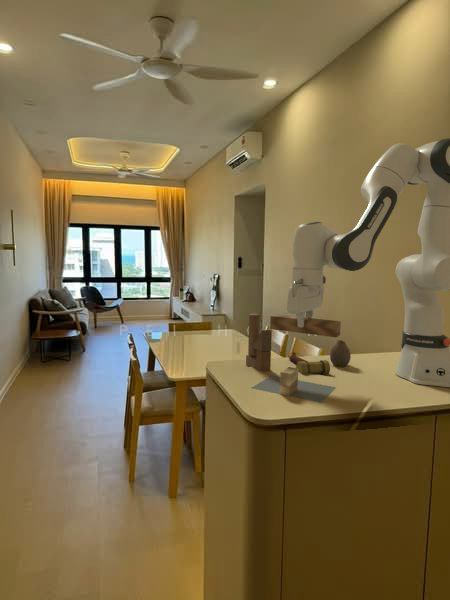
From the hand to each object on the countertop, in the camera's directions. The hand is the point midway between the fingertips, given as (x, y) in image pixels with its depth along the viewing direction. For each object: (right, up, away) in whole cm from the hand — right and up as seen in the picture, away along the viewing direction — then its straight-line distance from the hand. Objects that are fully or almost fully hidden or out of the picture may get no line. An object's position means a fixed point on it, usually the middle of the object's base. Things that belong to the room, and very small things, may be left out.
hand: (304, 325), depth 116 cm
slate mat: (-4, -18, -4) cm, 19 cm away
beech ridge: (-6, -18, -8) cm, 20 cm away
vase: (+17, -16, +22) cm, 32 cm away
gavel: (+3, -16, +20) cm, 26 cm away
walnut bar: (0, -2, 0) cm, 2 cm away
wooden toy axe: (-12, -16, +16) cm, 26 cm away
